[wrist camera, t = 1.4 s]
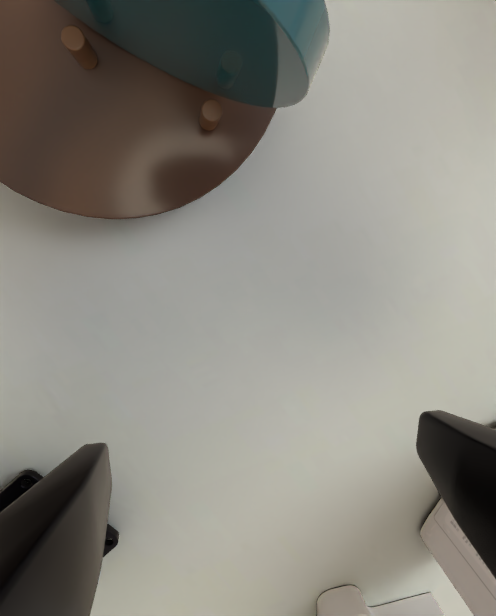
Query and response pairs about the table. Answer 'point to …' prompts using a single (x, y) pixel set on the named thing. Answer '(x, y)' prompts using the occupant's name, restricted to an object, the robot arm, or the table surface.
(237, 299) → the table surface
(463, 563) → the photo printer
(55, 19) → the dish rack
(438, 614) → the mounting plate
